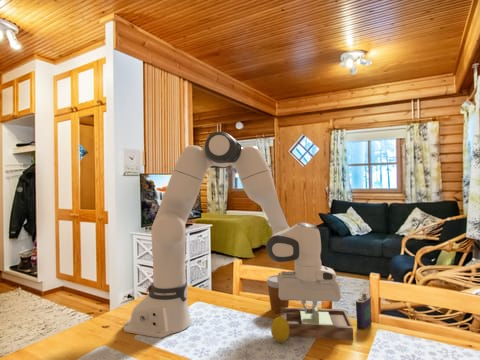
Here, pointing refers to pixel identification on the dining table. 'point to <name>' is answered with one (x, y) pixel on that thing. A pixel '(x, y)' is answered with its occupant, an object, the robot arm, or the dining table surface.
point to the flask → (363, 311)
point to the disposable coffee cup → (275, 295)
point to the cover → (316, 318)
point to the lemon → (280, 329)
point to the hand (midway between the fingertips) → (309, 313)
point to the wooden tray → (335, 331)
